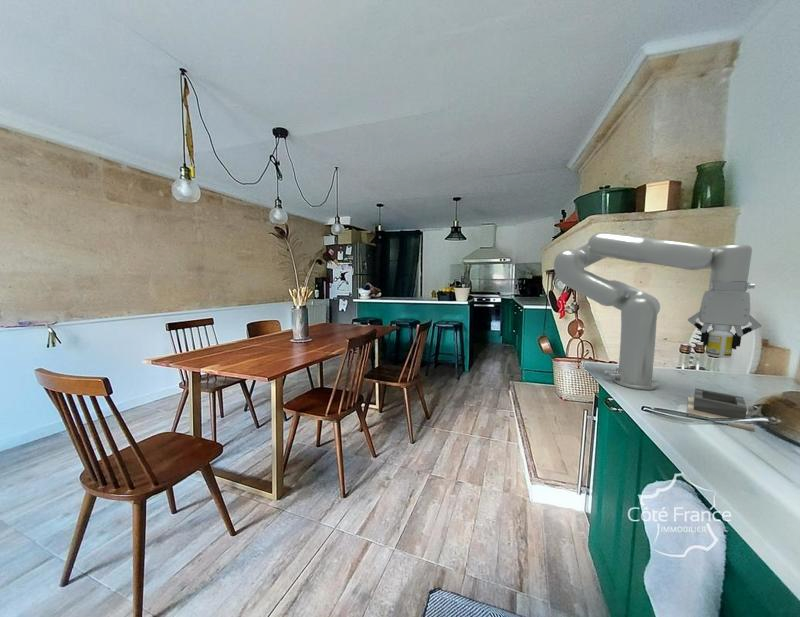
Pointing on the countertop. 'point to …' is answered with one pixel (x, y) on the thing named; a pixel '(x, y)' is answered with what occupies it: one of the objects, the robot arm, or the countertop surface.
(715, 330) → the supplement bottle
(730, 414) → the holder board
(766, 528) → the countertop surface
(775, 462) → the countertop surface
